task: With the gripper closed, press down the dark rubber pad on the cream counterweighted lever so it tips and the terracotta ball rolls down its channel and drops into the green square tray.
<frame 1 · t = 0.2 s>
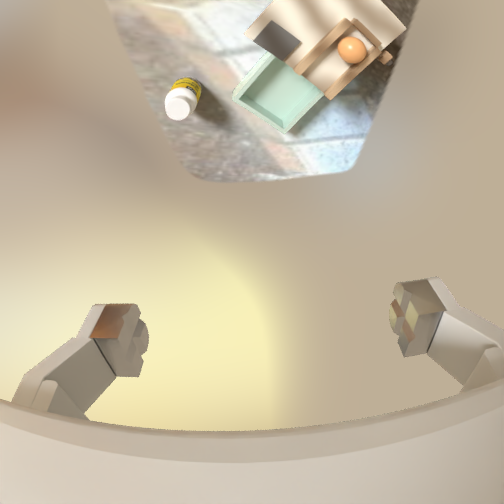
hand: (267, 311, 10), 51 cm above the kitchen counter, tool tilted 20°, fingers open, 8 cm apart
ball: (352, 49, 34), point 13 cm above the kitchen counter, touching lever
green square tray: (278, 85, 51), on the kitchen counter
supplement bottle: (187, 88, 51), on the kitchen counter
lever: (325, 23, 35), point 8 cm above the kitchen counter, hinge at 0.0°, touching ball
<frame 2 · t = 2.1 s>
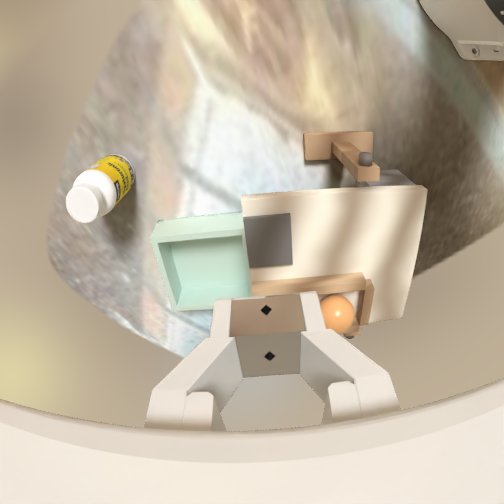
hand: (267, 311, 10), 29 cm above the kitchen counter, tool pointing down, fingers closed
lever stand: (337, 216, 39), on the kitchen counter
ball: (335, 314, 31), point 13 cm above the kitchen counter, touching lever
green square tray: (210, 254, 43), on the kitchen counter
supplement bottle: (117, 172, 36), on the kitchen counter
lever: (332, 254, 33), point 8 cm above the kitchen counter, hinge at 0.0°, touching ball
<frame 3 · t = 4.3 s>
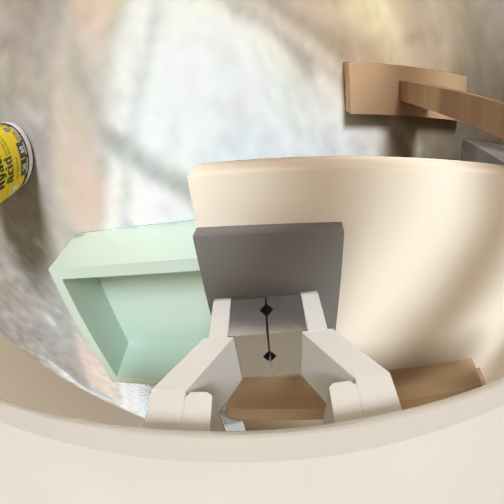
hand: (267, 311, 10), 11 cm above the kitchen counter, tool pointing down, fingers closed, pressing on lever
lever stand: (397, 228, 20), on the kitchen counter
green square tray: (167, 292, 23), on the kitchen counter
supplement bottle: (11, 154, 17), on the kitchen counter
lever: (413, 313, 14), point 8 cm above the kitchen counter, hinge at 5.0°, touching ball, gripper
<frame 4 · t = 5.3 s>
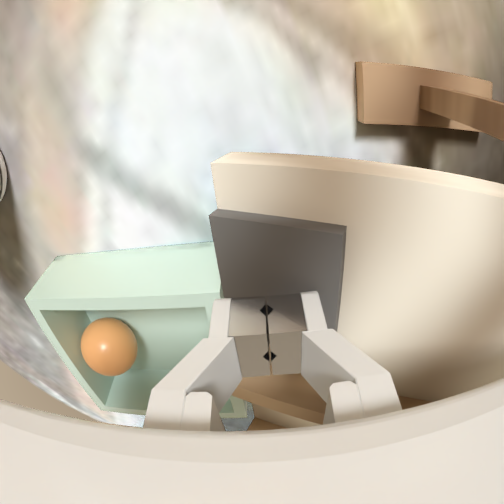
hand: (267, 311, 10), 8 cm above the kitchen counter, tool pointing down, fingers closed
lever stand: (411, 251, 18), on the kitchen counter
ball: (108, 346, 19), point 3 cm above the kitchen counter, tilted 154°, touching green square tray
green square tray: (155, 320, 21), on the kitchen counter
lever: (440, 344, 12), point 7 cm above the kitchen counter, hinge at 26.2°, touching gripper
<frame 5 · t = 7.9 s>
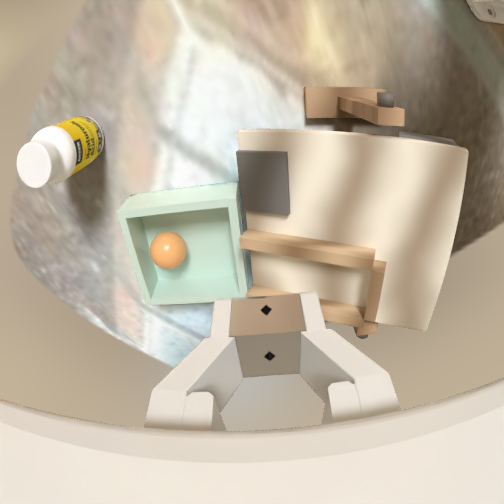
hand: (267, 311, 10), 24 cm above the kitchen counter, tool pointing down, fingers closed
lever stand: (345, 190, 32), on the kitchen counter
ball: (168, 250, 33), point 3 cm above the kitchen counter, tilted 132°, touching green square tray
green square tray: (191, 236, 35), on the kitchen counter
supplement bottle: (84, 138, 29), on the kitchen counter
lever: (351, 222, 26), point 7 cm above the kitchen counter, hinge at 26.3°
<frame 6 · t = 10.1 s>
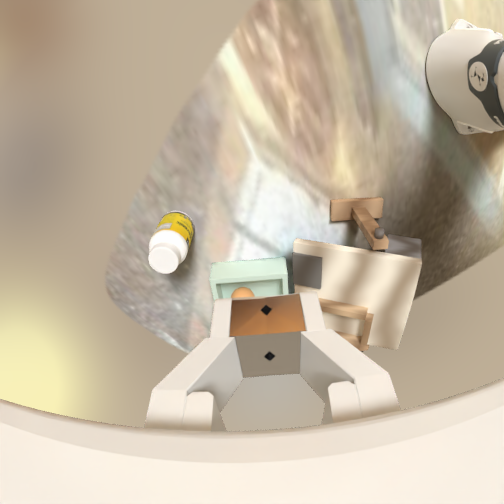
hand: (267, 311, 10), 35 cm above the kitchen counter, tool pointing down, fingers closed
lever stand: (352, 260, 51), on the kitchen counter
ball: (242, 299, 52), point 3 cm above the kitchen counter, tilted 113°, touching green square tray
green square tray: (251, 288, 54), on the kitchen counter
supplement bottle: (178, 224, 48), on the kitchen counter
lever: (355, 289, 44), point 7 cm above the kitchen counter, hinge at 26.3°
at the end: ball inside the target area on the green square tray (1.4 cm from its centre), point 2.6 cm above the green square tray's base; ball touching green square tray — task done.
